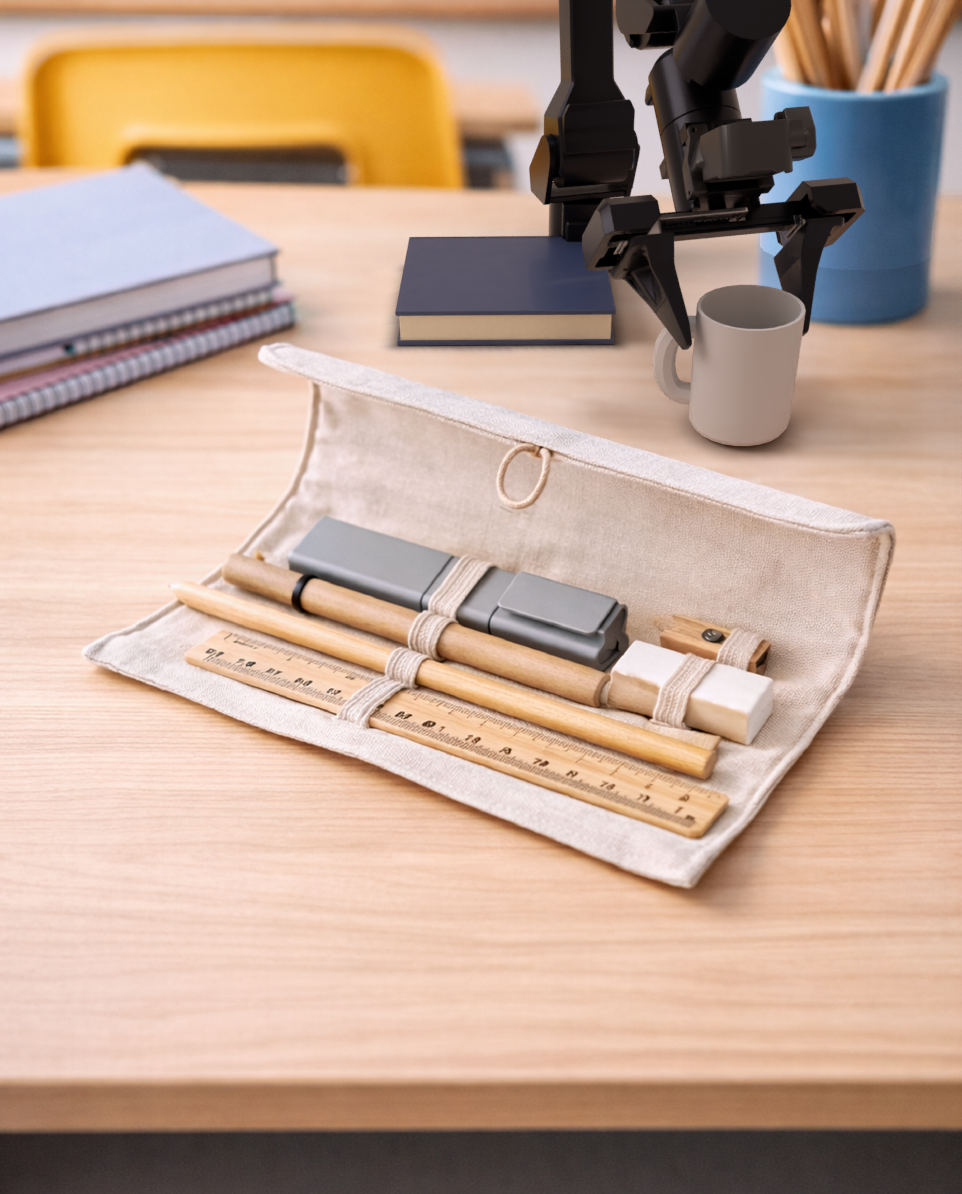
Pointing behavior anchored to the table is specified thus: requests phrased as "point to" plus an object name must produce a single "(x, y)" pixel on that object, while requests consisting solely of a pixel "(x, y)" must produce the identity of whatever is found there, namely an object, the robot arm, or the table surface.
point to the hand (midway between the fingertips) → (745, 341)
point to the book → (502, 293)
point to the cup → (737, 363)
